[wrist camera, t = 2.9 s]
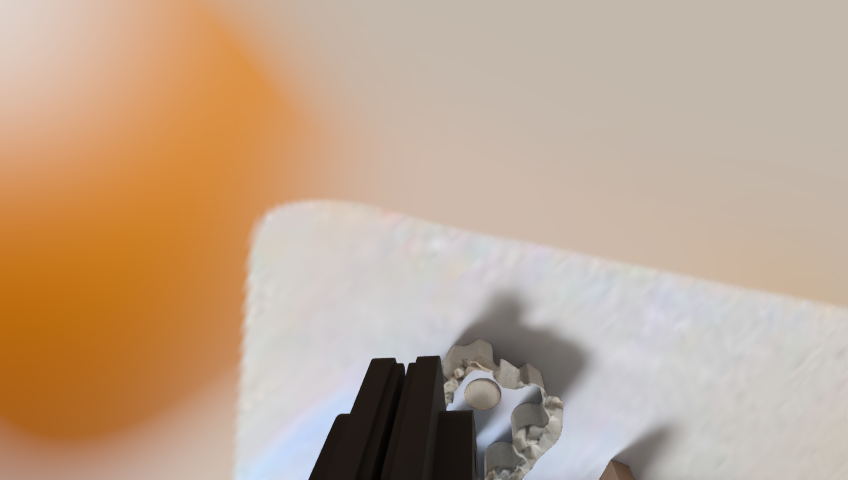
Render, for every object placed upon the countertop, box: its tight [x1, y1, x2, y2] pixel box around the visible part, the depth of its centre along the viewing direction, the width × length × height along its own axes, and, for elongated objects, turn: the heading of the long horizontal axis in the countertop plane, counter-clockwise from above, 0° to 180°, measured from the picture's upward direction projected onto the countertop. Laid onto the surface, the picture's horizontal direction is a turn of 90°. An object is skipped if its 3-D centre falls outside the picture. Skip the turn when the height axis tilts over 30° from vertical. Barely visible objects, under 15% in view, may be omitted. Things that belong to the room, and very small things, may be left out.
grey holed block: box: [442, 338, 563, 480], centre depth 27 cm, size 11×8×4 cm
